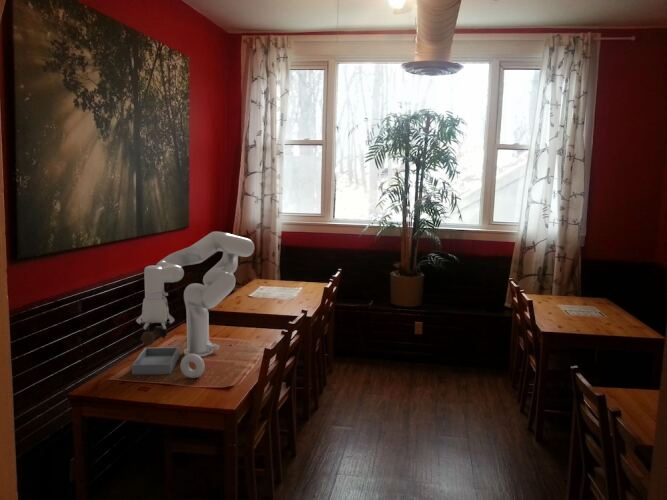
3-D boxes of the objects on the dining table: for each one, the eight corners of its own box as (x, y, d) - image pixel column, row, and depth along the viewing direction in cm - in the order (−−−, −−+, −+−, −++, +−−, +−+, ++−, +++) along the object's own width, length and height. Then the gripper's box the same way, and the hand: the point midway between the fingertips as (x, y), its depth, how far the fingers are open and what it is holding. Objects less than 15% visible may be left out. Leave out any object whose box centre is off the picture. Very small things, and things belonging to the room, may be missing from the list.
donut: (206, 377, 213) (205, 353, 212) (202, 380, 210) (202, 356, 208) (182, 375, 215) (182, 351, 213) (179, 378, 212) (178, 354, 210)
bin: (180, 355, 237) (179, 347, 236) (170, 374, 216) (170, 364, 215) (145, 356, 235) (144, 347, 234) (132, 374, 214) (131, 365, 214)
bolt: (165, 337, 231) (149, 347, 216) (155, 331, 231) (138, 341, 216) (171, 326, 230) (155, 336, 215) (162, 320, 230) (145, 329, 215)
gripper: (177, 293, 225) (178, 334, 228) (135, 293, 224) (137, 335, 226) (174, 297, 218) (175, 340, 221) (130, 297, 216) (132, 340, 219)
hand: (155, 337), depth 224 cm, fingers closed on bolt, 5 cm apart
